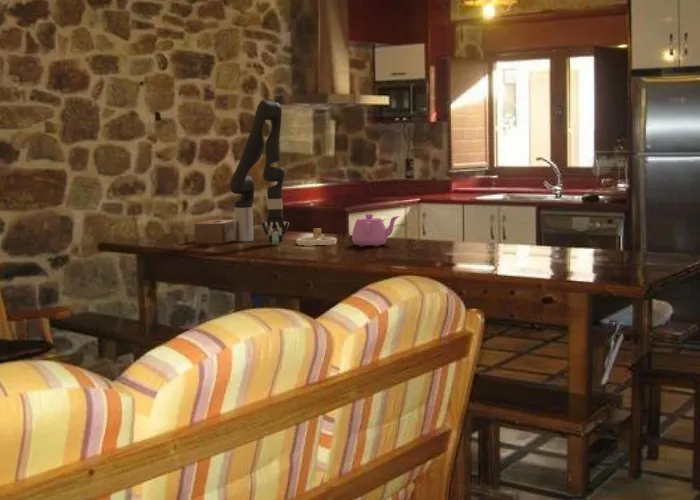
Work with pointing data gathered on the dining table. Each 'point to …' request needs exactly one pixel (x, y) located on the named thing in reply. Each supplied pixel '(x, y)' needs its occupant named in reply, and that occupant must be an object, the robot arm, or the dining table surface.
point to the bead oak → (317, 233)
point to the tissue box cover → (214, 231)
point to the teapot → (371, 231)
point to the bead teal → (275, 238)
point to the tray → (316, 241)
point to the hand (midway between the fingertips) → (276, 242)
